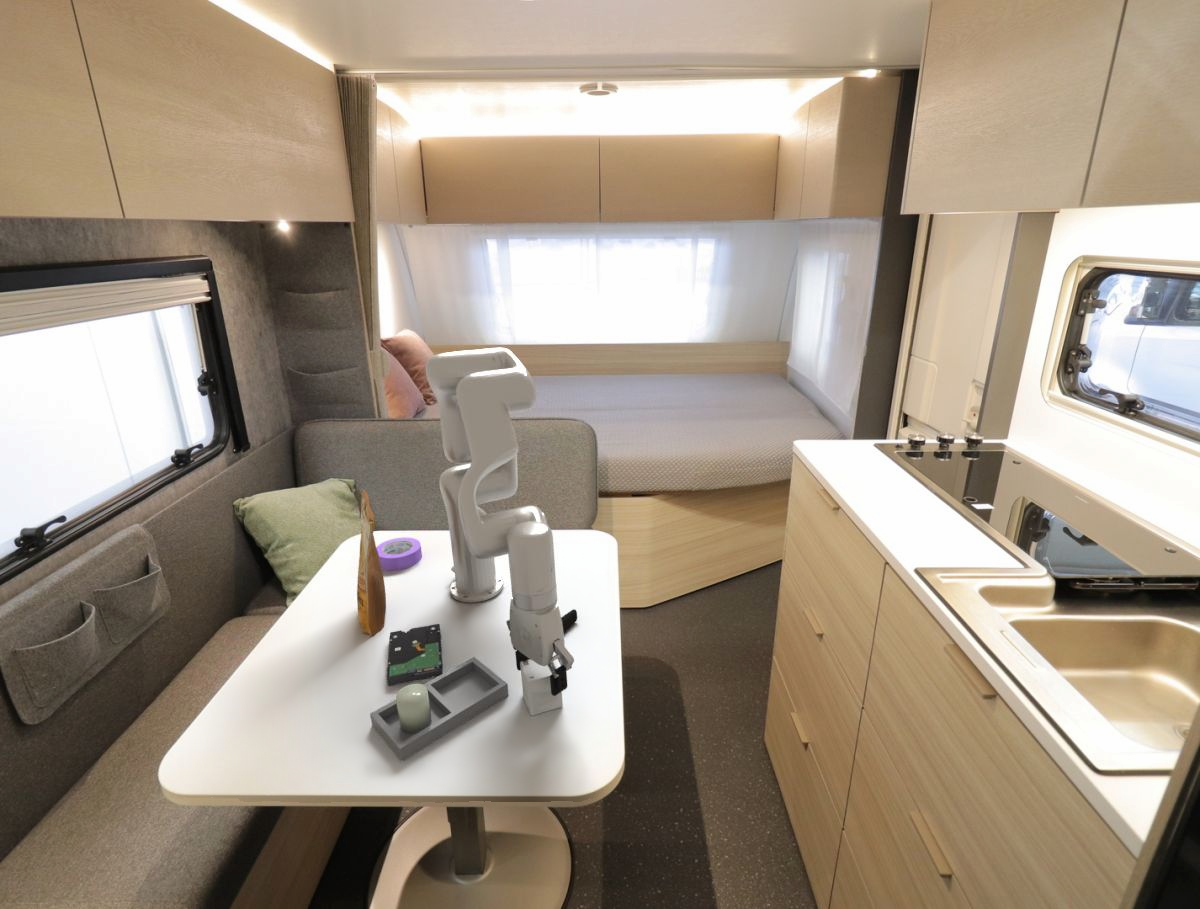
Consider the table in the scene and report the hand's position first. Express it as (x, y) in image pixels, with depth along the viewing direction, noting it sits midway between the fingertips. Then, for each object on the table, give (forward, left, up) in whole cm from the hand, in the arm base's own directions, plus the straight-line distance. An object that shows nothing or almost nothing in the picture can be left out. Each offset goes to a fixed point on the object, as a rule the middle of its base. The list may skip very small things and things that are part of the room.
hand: (541, 678), depth 108 cm
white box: (-1, 0, -5) cm, 5 cm away
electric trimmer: (-14, +13, -6) cm, 20 cm away
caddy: (-12, -14, -5) cm, 19 cm away
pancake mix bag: (-49, -9, -5) cm, 50 cm away
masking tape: (-70, +7, -6) cm, 70 cm away
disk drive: (-29, -10, -6) cm, 31 cm away
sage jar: (-12, -19, -5) cm, 23 cm away
